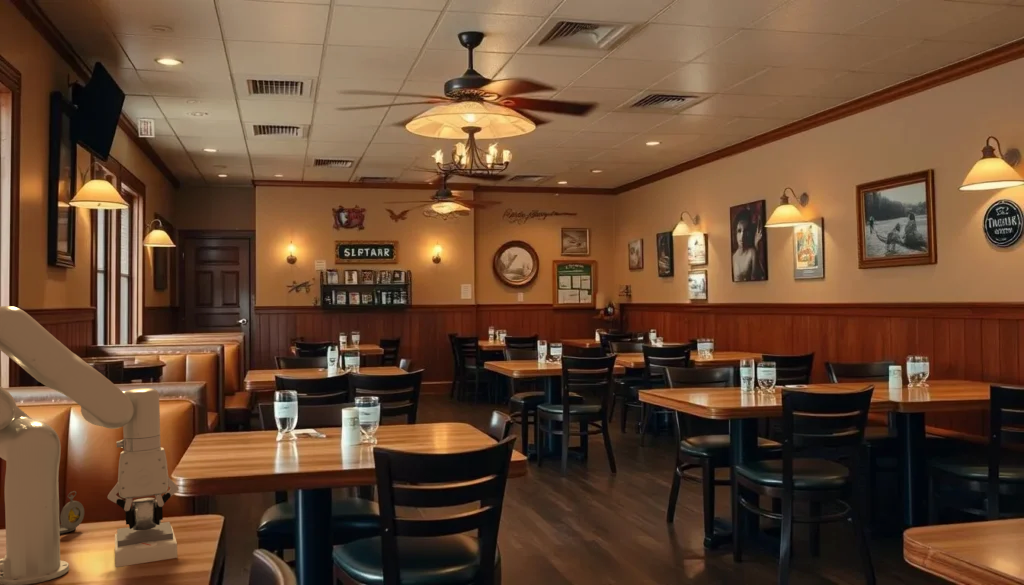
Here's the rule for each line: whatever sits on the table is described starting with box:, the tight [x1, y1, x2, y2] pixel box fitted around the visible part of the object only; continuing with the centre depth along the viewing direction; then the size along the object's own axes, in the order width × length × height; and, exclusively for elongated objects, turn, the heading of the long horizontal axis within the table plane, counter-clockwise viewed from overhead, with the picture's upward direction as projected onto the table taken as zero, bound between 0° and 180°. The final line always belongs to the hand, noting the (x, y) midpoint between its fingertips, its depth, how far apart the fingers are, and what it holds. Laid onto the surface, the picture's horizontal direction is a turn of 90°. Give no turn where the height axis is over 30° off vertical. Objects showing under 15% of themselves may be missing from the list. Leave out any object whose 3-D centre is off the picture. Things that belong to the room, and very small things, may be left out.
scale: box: [114, 521, 178, 568], centre depth 180 cm, size 12×16×4 cm
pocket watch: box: [59, 490, 85, 535], centre depth 198 cm, size 8×8×10 cm
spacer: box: [131, 497, 156, 530], centre depth 182 cm, size 5×5×6 cm
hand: (144, 524), depth 182 cm, fingers closed on spacer, 4 cm apart
